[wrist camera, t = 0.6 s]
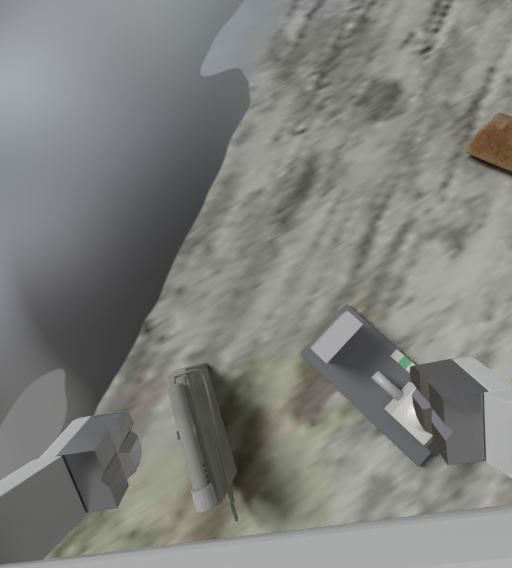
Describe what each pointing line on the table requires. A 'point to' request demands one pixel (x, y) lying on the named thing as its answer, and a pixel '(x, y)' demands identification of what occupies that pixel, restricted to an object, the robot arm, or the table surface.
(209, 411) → the geiger counter
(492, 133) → the brown hollow flared piece
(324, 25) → the table surface
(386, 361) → the stand
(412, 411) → the white domed block
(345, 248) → the table surface
